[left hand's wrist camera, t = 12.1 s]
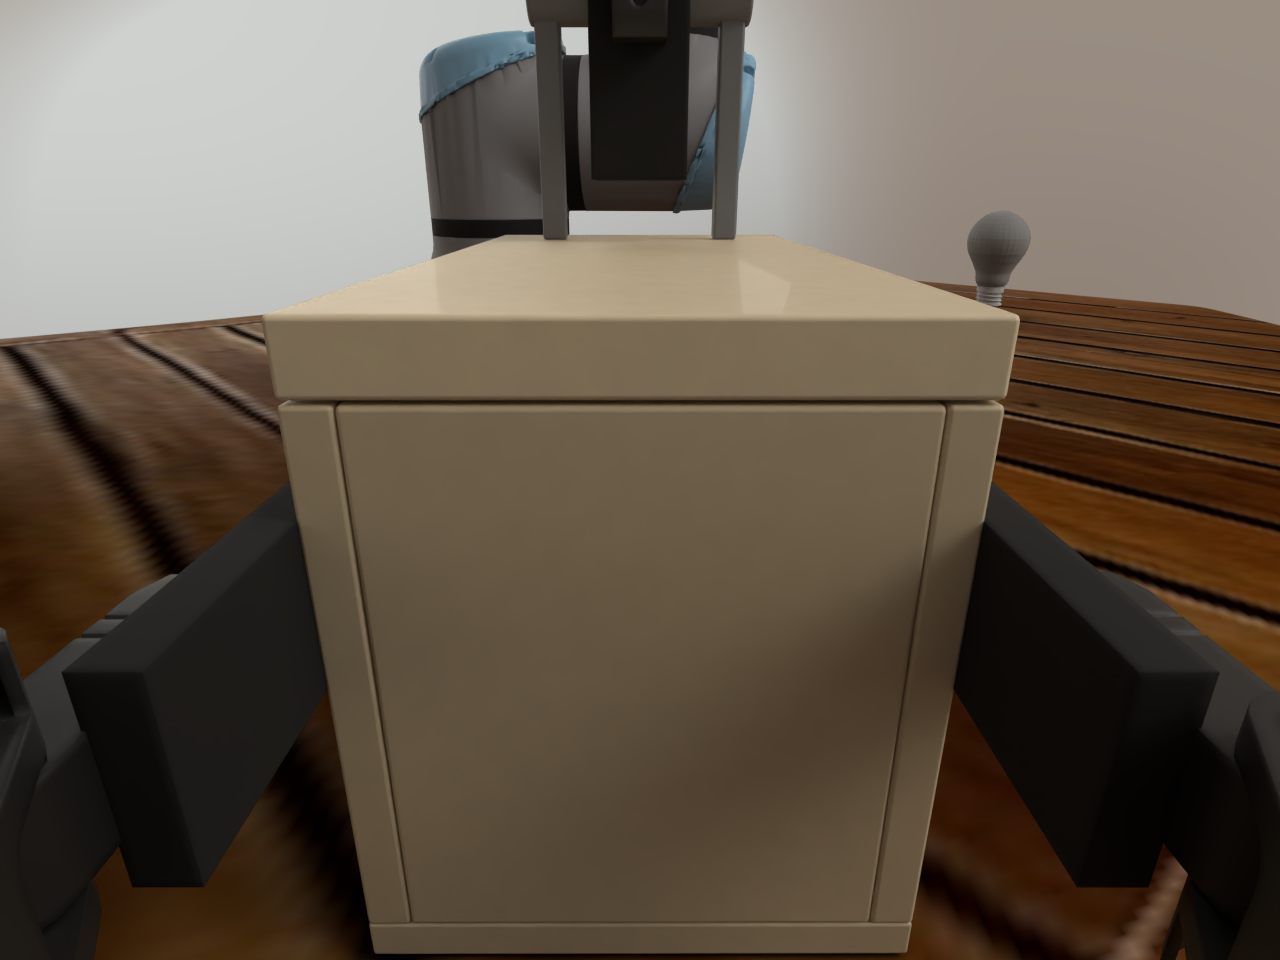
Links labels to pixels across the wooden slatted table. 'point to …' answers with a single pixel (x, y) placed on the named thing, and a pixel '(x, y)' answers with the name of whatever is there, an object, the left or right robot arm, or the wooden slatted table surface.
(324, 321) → the lid
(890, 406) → the chest
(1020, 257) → the light bulb
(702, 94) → the right robot arm
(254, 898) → the wooden slatted table surface
